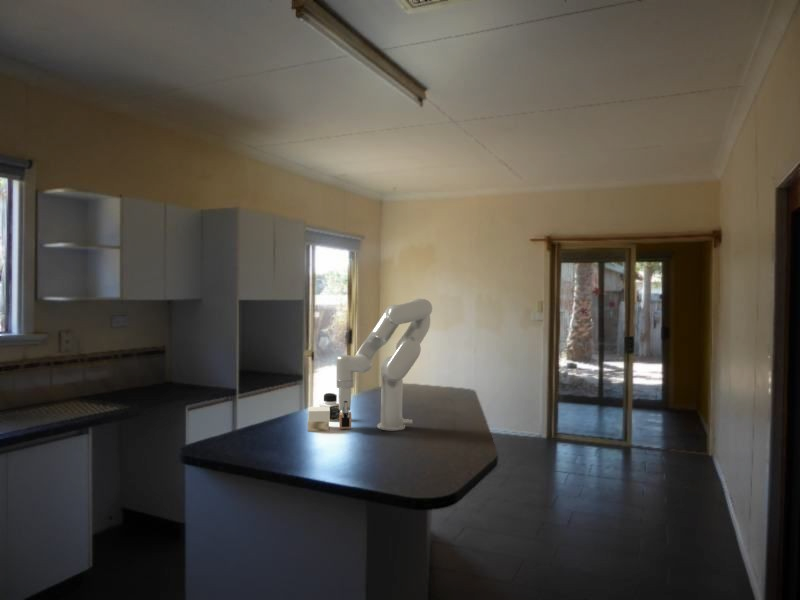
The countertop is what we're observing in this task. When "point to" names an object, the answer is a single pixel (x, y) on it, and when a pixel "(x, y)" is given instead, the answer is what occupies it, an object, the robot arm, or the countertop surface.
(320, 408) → the cream block
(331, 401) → the medicine bottle
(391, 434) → the countertop surface
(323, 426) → the beech block
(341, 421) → the terracotta block
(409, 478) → the countertop surface
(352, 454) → the countertop surface
